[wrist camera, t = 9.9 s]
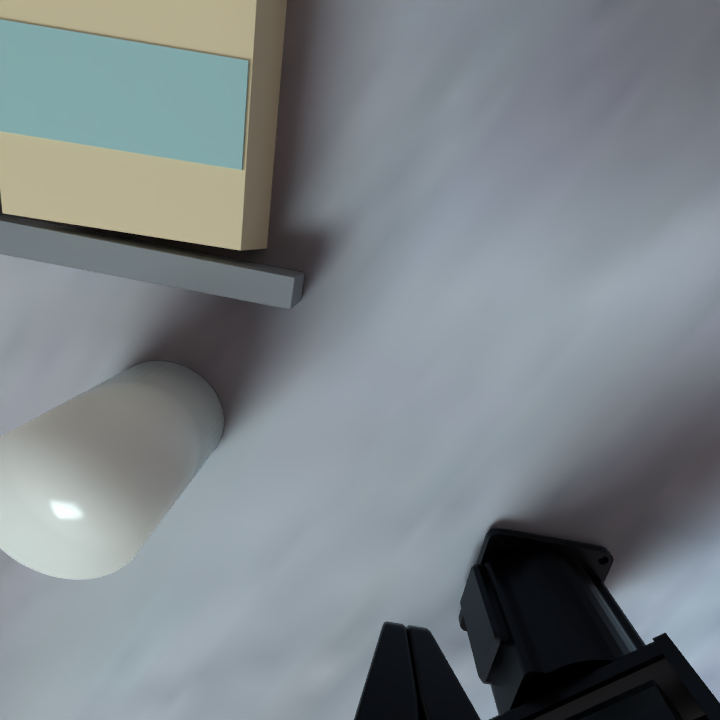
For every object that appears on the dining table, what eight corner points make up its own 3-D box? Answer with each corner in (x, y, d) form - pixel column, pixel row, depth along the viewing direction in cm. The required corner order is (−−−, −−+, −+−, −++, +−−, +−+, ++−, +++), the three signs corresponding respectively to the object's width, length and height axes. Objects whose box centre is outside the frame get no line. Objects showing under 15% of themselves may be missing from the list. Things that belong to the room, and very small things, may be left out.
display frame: (374, -199, 13) (375, -298, 11) (300, 300, 18) (289, 309, 15) (-58, -299, 13) (-159, -425, 10) (-18, 238, 17) (-80, 238, 15)
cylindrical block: (229, 372, 19) (151, 446, 12) (218, 476, 20) (144, 592, 14) (108, 350, 19) (-39, 412, 12) (107, 456, 20) (-23, 564, 13)
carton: (298, -105, 14) (270, -239, 10) (268, 248, 17) (239, 250, 14) (67, -145, 14) (-51, -297, 10) (83, 219, 17) (-1, 212, 13)
